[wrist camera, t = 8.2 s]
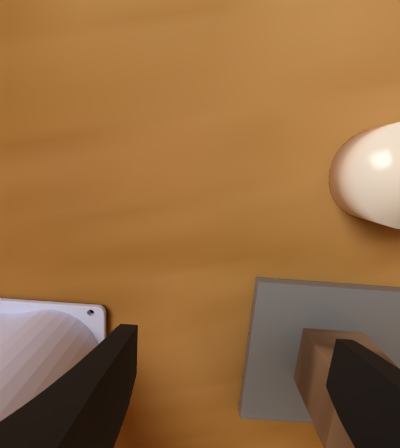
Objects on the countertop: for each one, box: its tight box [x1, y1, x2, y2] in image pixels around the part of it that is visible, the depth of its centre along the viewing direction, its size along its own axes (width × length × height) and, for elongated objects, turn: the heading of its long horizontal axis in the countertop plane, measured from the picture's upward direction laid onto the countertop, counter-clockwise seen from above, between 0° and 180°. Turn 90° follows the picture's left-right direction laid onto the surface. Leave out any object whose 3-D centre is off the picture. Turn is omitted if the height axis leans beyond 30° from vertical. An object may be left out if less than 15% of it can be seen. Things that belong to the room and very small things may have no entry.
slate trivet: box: [238, 277, 400, 423], centre depth 19 cm, size 12×12×1 cm
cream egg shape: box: [329, 122, 400, 229], centre depth 15 cm, size 6×6×4 cm
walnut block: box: [294, 328, 398, 448], centre depth 16 cm, size 4×4×5 cm
